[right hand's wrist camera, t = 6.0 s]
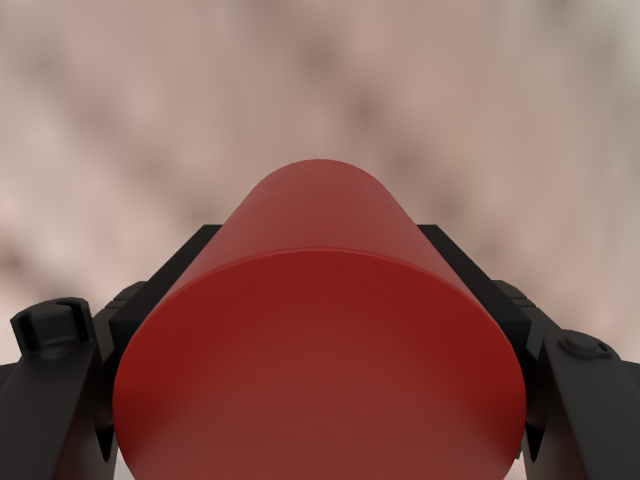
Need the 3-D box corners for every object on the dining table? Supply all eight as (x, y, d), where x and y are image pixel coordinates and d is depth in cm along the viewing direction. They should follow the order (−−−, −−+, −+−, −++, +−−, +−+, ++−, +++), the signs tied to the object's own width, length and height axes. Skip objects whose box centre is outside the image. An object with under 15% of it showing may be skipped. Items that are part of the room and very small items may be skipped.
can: (256, 329, 17) (182, 582, 8) (214, 175, 14) (36, 289, 5) (411, 306, 16) (523, 546, 7) (396, 144, 14) (536, 209, 5)
